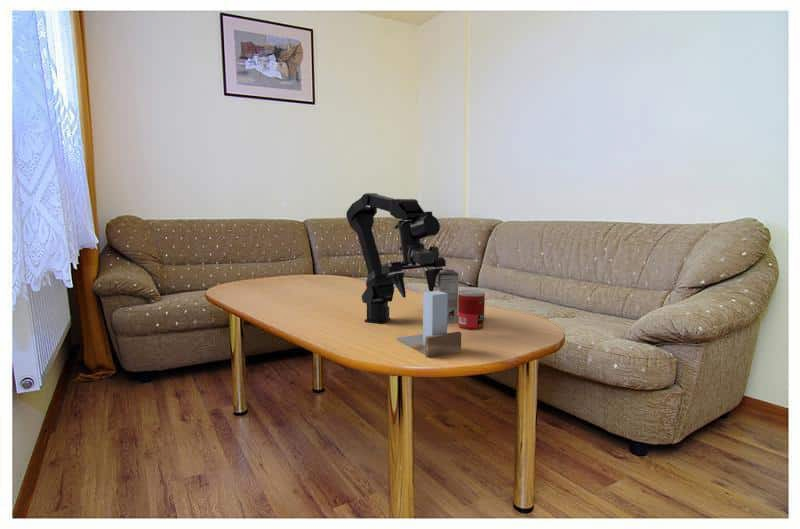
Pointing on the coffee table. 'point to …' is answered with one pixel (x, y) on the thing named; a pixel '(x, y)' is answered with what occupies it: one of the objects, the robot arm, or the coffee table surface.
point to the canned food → (471, 309)
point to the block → (434, 313)
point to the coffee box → (449, 292)
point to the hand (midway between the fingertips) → (418, 295)
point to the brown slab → (440, 344)
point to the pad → (411, 339)
